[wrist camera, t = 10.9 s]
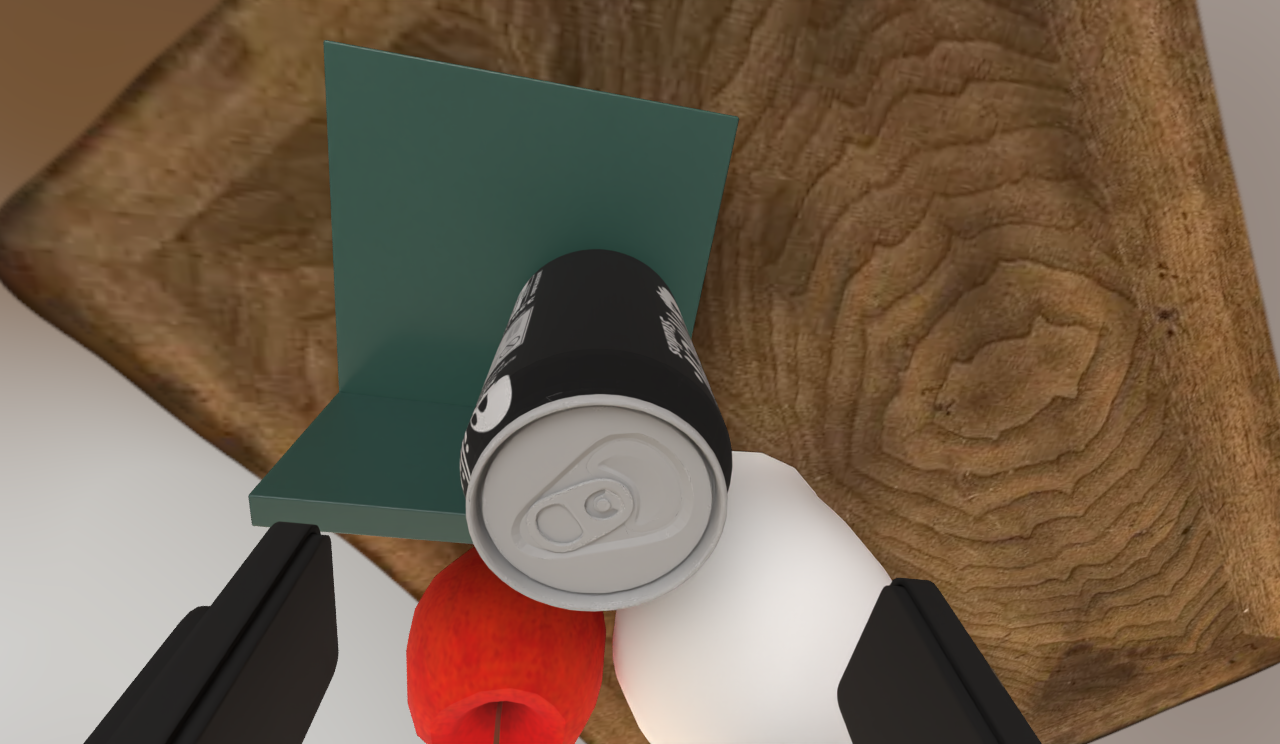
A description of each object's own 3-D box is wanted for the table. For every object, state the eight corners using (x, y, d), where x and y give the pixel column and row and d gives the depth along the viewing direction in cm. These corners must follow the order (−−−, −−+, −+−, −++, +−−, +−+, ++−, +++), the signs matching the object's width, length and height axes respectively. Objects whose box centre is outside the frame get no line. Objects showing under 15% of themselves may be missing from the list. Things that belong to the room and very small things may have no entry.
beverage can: (703, 355, 25) (790, 558, 14) (566, 422, 26) (544, 661, 15) (632, 213, 22) (669, 324, 11) (481, 292, 23) (379, 468, 12)
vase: (789, 391, 32) (1033, 759, 14) (869, 563, 38) (1116, 981, 20) (564, 499, 34) (530, 942, 16) (672, 647, 40) (735, 1097, 22)
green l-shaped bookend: (383, 52, 24) (186, 9, 13) (710, 113, 26) (803, 124, 15) (385, 359, 30) (251, 526, 18) (654, 391, 32) (689, 562, 20)
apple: (406, 531, 35) (318, 732, 24) (552, 460, 33) (531, 639, 22) (499, 635, 39) (460, 850, 28) (632, 576, 37) (648, 777, 26)
